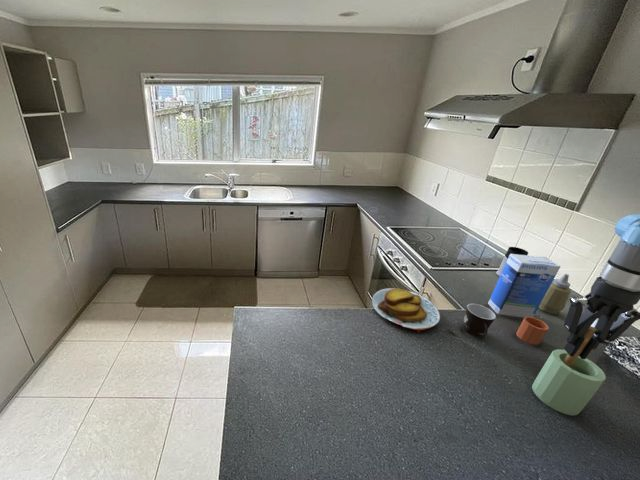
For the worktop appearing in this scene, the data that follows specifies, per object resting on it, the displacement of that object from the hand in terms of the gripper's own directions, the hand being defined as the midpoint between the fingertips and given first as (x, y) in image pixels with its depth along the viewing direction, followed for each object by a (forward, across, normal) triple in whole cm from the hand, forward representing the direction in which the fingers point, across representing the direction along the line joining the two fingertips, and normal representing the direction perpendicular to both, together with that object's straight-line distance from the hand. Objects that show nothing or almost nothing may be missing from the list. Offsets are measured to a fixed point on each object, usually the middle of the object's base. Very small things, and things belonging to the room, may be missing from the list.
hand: (574, 353), depth 78 cm
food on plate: (+17, +37, -24) cm, 48 cm away
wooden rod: (+12, 0, 0) cm, 12 cm away
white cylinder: (+17, -32, -38) cm, 53 cm away
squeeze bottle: (+17, -22, -50) cm, 57 cm away
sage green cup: (+17, -1, +1) cm, 17 cm away
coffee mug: (+17, +14, -20) cm, 30 cm away
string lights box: (+17, -5, -41) cm, 45 cm away
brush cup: (+17, -5, -25) cm, 30 cm away
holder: (+17, -17, -74) cm, 77 cm away
